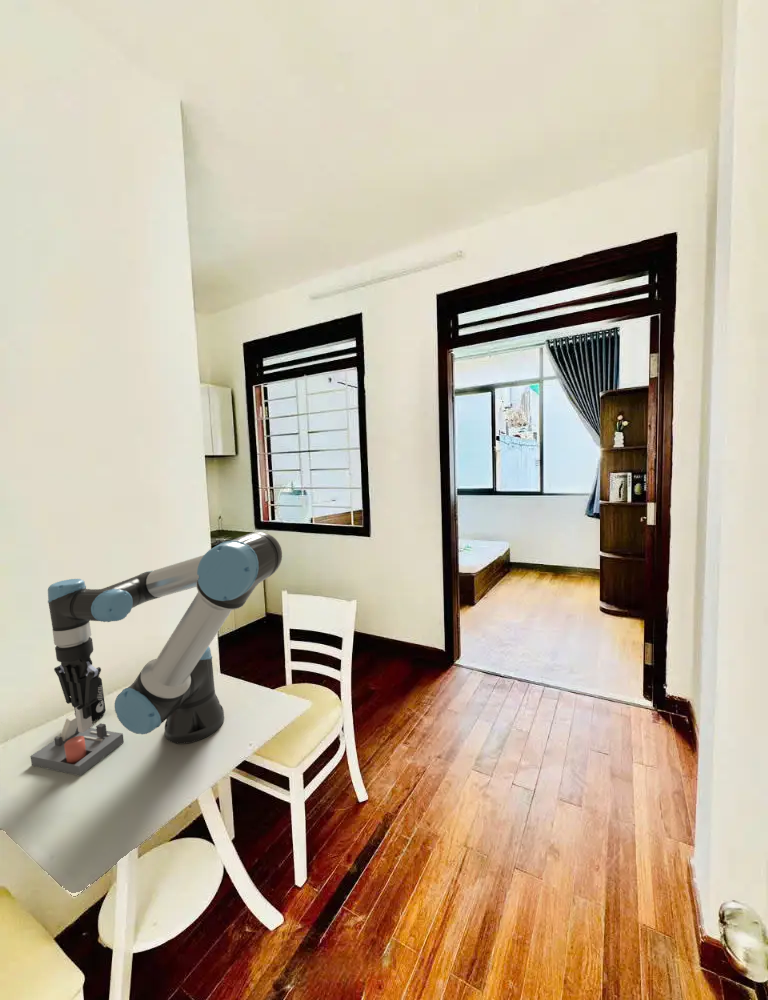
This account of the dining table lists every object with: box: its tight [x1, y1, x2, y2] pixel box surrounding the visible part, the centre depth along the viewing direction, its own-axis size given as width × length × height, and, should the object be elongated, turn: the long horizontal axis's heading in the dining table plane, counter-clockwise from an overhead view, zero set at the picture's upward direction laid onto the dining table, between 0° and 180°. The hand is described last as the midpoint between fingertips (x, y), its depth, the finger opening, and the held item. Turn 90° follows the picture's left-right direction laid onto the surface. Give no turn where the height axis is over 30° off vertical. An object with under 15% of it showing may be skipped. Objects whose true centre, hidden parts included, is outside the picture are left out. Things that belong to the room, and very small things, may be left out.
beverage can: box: [91, 676, 106, 722], centre depth 123 cm, size 7×7×12 cm
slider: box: [95, 723, 108, 738], centre depth 109 cm, size 2×1×3 cm, turn 74°
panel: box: [29, 726, 125, 777], centre depth 107 cm, size 16×12×4 cm
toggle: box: [59, 712, 77, 742], centre depth 109 cm, size 1×3×8 cm, turn 165°
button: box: [64, 736, 87, 764], centre depth 103 cm, size 4×4×5 cm
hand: (85, 728), depth 107 cm, fingers closed
